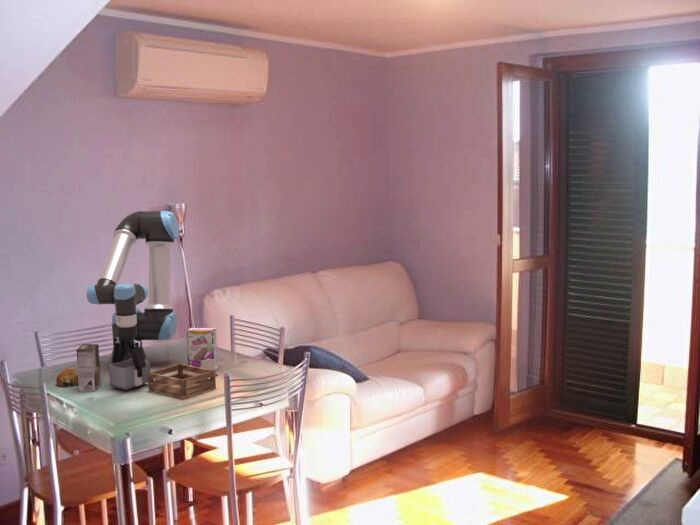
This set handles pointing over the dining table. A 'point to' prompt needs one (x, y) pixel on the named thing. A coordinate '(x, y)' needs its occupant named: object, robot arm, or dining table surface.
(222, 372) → the dining table surface
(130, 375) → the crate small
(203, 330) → the candy bar box
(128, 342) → the robot arm
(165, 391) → the crate big
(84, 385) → the coffee box
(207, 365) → the architectural model
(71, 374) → the bread roll
